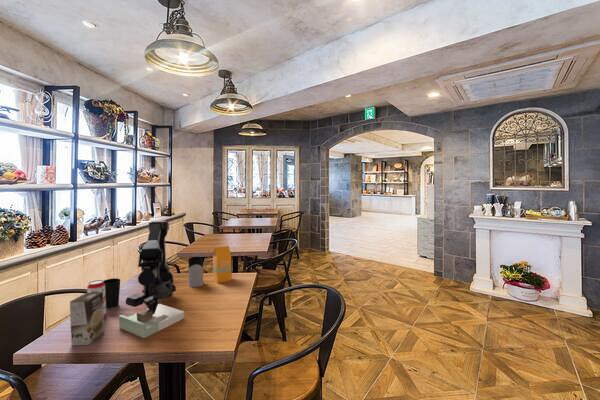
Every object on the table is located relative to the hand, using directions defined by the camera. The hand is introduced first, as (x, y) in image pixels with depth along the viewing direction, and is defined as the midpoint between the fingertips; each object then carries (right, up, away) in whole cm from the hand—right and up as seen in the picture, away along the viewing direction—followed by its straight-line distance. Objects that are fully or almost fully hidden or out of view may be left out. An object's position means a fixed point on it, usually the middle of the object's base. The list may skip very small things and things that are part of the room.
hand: (152, 314), depth 119 cm
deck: (0, -4, 0) cm, 4 cm away
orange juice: (+15, -1, +52) cm, 54 cm away
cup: (-28, -3, +16) cm, 32 cm away
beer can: (-26, -4, +4) cm, 26 cm away
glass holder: (0, -1, +47) cm, 48 cm away
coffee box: (-18, -5, -12) cm, 22 cm away
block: (-2, -1, -3) cm, 4 cm away
